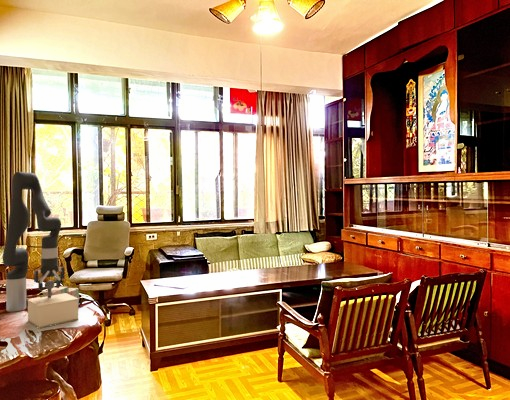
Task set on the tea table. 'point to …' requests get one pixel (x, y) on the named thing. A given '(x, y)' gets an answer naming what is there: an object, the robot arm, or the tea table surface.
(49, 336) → the tea table surface
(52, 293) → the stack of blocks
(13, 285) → the robot arm
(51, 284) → the lid flap
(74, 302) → the carton
